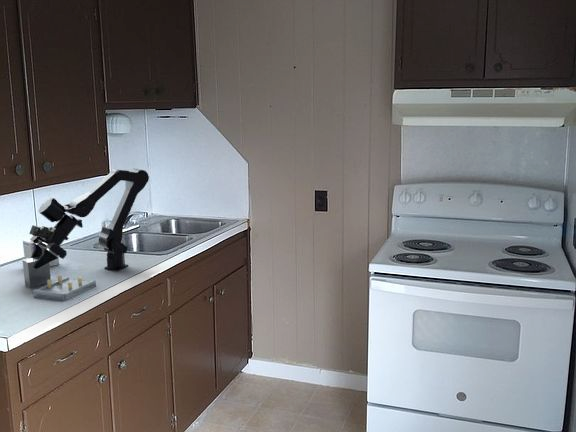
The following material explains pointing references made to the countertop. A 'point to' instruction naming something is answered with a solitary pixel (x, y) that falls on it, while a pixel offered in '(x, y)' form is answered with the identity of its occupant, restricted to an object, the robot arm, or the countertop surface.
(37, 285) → the block
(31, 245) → the light bulb box
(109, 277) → the countertop surface
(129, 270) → the countertop surface
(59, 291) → the dock
